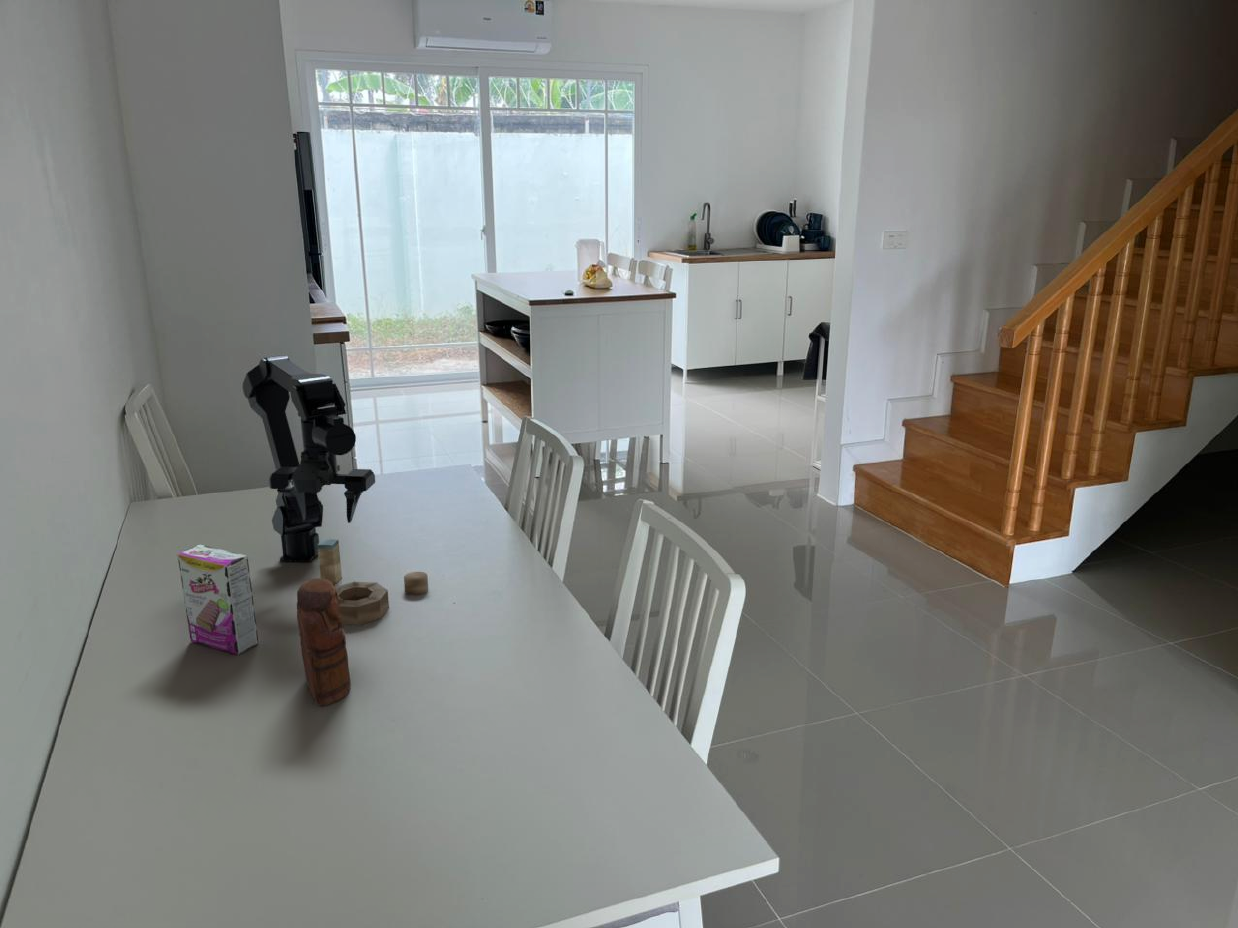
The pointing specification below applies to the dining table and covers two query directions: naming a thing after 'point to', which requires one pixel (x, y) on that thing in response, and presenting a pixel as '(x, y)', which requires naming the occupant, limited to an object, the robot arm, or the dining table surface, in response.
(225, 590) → the candy bar box
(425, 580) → the loose bead
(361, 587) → the wooden octagonal ring
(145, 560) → the dining table surface
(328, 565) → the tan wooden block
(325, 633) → the wooden figurine
